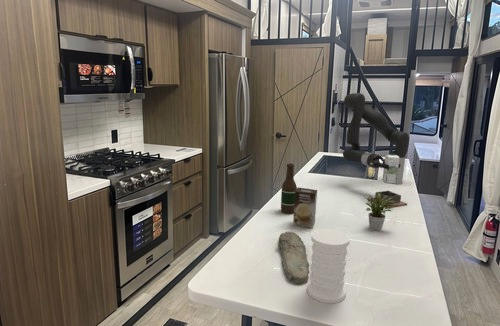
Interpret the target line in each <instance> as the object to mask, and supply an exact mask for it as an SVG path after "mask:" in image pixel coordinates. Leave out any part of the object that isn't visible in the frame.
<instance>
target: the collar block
mask: <svg viewBox="0 0 500 326" xmlns="http://www.w3.org/2000/svg"><path fill="white" fill-rule="evenodd" d="M378 192H379V194H381V199H382V198H384V197H385V196H386V195H387V196H386V197H385V198H384V200H383V202H385V201H386V200H387V199H389V198H391V199H390V200H389V201H388V203H389V204H391V205H392V206H387V207H385V208H391V209H394V208H400V207H405V206H408V203H407V202H404V201H401V198H402V195H401V194H399V193H396V192H393V191H390V190H384V191H383V190H381V191H376V192H375V194H374V195H375V196H374V197H372V198H373V199H374V200H375V201H374V202H375V203H376V200H377V195H378ZM392 197H393V198H392ZM369 198H370V200H371V197H369ZM369 198H368V197H367V199H369ZM371 201H372V200H371ZM380 201H381V200H380ZM391 201H394V202H391ZM383 202H382V203H383ZM381 205H382V204H381ZM381 205H380V206H381ZM384 205H387V202H386V204H384ZM395 205H398V206H395ZM385 208H384V209H385Z"/></svg>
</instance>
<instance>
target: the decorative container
mask: <svg viewBox="0 0 500 326" xmlns="http://www.w3.org/2000/svg"><path fill="white" fill-rule="evenodd" d="M311 242H312V246H311V250H312V254H311V258H310V259H311V265H310V271H311V272H310V275H309V279H310V281H308V283H307V284H306V292H307V294H308V296H309V297H310V298H312V299H314V300H315V301H317V302H320V303H324V304H325V303H326V304H337V303H341V302H342V301H344V300H345V299H346V295H347V289H346V287H345V274H346V268H345V267H346V264H347V259H346V258H347V257H346V256H347V255H348V248H347V247H348V246H349V245H350V237H349V235H347V234H346V233H345V232H342V231H340V230H336V229H330V228H329V229H328V228H325V229H324V228H321V229H316V230H314V231H313V232H312V233H311Z"/></svg>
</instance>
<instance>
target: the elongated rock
mask: <svg viewBox="0 0 500 326" xmlns="http://www.w3.org/2000/svg"><path fill="white" fill-rule="evenodd" d="M278 242H279V247H280V251H281V256H282V264H283V268H284V271H285V274H286V277H287V279H288V280H289V281H290V282H291V283H292V284H296V285H304V284H306V283H307V282H308V279H310V275H309V274H310V270H309V267H310V263H309V262H308V255H307V250H306V249H307V248H306V245H305V244H304V241H303V240H302V238H301V237H300V236H299V235H298V233H296V232H293V231H285V232H283V233H280V235H279V237H278Z"/></svg>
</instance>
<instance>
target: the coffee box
mask: <svg viewBox="0 0 500 326" xmlns="http://www.w3.org/2000/svg"><path fill="white" fill-rule="evenodd" d="M317 198H318V189H312V188H304V187H298V186H297V189H296V191H295V202H294V213H293V220H292V226H295V227H300V228H301V227H302V228H305V229H313V228H314V226H315V224H316V211H317Z"/></svg>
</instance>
